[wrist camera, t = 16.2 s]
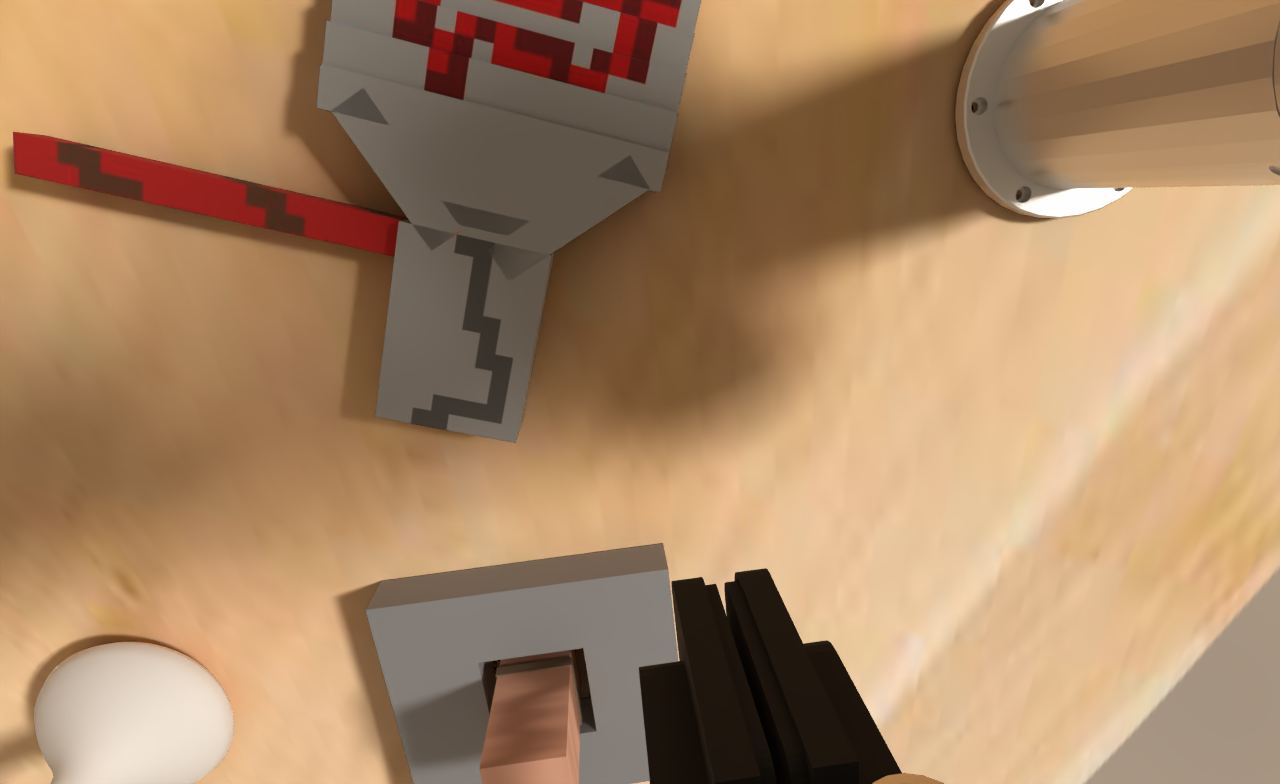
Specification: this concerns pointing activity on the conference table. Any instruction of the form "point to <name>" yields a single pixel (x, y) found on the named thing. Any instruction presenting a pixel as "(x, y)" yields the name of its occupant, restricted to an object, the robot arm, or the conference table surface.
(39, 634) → the conference table surface
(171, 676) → the flower in vase
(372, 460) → the conference table surface
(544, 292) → the grey and red axe
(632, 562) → the board
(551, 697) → the peg
